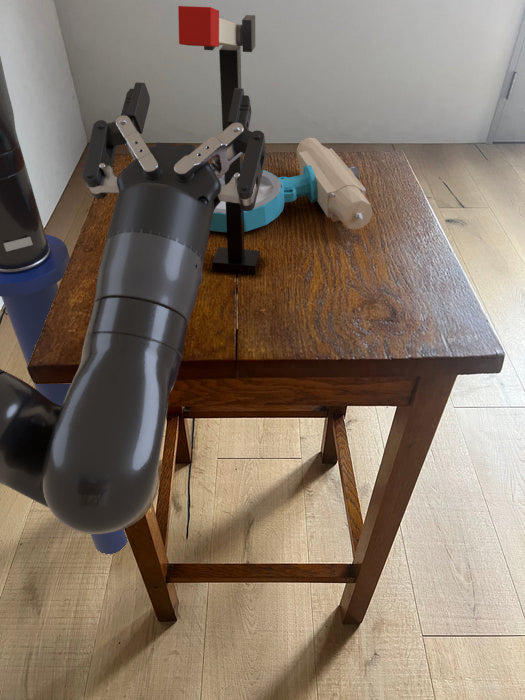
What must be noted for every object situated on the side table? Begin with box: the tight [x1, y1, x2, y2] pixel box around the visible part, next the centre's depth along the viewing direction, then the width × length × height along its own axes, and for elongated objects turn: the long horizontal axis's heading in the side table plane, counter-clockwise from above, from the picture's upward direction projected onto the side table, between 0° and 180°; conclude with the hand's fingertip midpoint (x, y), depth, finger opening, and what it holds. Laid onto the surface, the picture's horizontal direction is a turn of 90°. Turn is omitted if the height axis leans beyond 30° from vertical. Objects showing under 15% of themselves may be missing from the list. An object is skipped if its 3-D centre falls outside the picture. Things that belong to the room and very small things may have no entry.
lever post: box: [203, 14, 261, 276], centre depth 69 cm, size 6×4×31 cm, turn 81°
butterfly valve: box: [210, 137, 374, 233], centre depth 90 cm, size 27×7×30 cm
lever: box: [177, 5, 243, 48], centre depth 54 cm, size 3×16×3 cm, turn 171°
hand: (191, 92), depth 48 cm, fingers open, 8 cm apart
